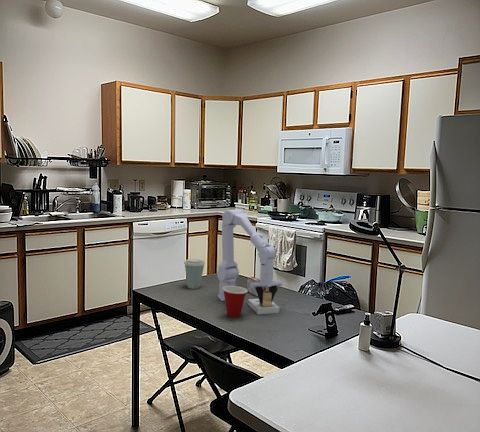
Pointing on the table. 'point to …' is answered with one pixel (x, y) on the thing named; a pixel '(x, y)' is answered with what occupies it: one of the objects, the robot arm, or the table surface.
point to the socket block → (262, 310)
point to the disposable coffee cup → (194, 272)
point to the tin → (253, 290)
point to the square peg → (266, 299)
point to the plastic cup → (234, 300)
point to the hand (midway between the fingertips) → (265, 302)
